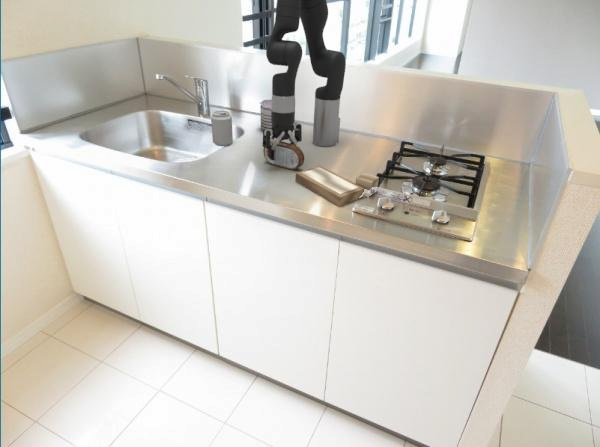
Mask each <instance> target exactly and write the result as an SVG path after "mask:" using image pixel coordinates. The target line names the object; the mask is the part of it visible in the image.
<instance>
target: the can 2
mask: <svg viewBox="0 0 600 447" xmlns="http://www.w3.org/2000/svg"><path fill="white" fill-rule="evenodd" d="M271 100H272V99H263V100H262V101H260V102H259V104H260V131H261V132H262V133H263V130H264V129H267V130H269V129H271V128H272V123H271ZM271 136H272V134H271Z"/></svg>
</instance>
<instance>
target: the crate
mask: <svg viewBox="0 0 600 447" xmlns="http://www.w3.org/2000/svg"><path fill="white" fill-rule="evenodd" d="M379 179H380V177H379V176H376V175H373V174H370V173H367V172H363V173H362V174H360V175H358V176H357V177H356V178H355V184H357V185H359V186H361V187H363V188H365V189H367V190H370V189H371V188H372V187H378V186H379V181H380V180H379ZM378 188H379V187H378Z"/></svg>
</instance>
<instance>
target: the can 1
mask: <svg viewBox="0 0 600 447" xmlns="http://www.w3.org/2000/svg"><path fill="white" fill-rule="evenodd" d="M210 123H211V135H212V143H213V144H215V146H218V147H227V146H229V145H232V143H233V142H234V139H233V138H234V137H233V135H234V134H233V118H232V115H231V113H230V111H228V110H222V109H221V110H220V109H219V110H215V111H213V112H212V115H211V116H210Z"/></svg>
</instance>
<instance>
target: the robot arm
mask: <svg viewBox="0 0 600 447" xmlns="http://www.w3.org/2000/svg"><path fill="white" fill-rule="evenodd" d="M328 8H329V6H328V3H327V0H276V9H275V18H274V19H275V20H274V25H273V27H272V32H271V35H270V38H269V41H268V43H267V46H266V50H265V52H266V54H265V55H266V60H267V61H268V62H269V63H270V65H274V66H283V67H287V69H286V72H285V71H284V72H278V73H275V74H273V76H272V80H271V81H272V82H271V86H272V87H271V89H272V90H271V99H270V100H271V123H272V128H271V129H269V130H267V129H264V130H263V132H262V148H264V147H265V148H266V149H268V158H269V159H271V160H275V150H274V148H275V146H276V145H277V144H278V143H279V141H282V142H284V141H285V140H286V141H287V140H288V141H289V143H290V144H293V145H296V146H297V144H298V143H300V142H302V133H303V132H302V131H303V130H302V127H303V126H302V124H301V123H299V122H296V120H295V119H296V80H297V75H298V72H299V68H300V64H301V60H302V58H303V48H302V46H301V44H300V43H299V41H295V40H284V39H283V38H284V36H285V35H286V34H289V33H295V32H298V30H299V28H300V21H301V24H302V27H303V32H304V36H305V39H306V42H307V49H308V55H309V61H310V64H311V68H312V70H313V73H314V74H315V75H316V76H318V77H320V78H325V79H327V80H326V82H325V85H324V86H319V87H317V88H316V89H315V92H314V109H313V110H314V111H313V112H314V113H313V130H312V144H314V145H316V146H319V147H332V146H335V145H336V144H337V143H339V141H340V128H341V118H340V117H339V116H340V107H341V105H340V104H341V95H342V91H343V87H344V83H345V82H344V81H345V74H346V73H345V72H346V65H347V64H346V62H347V61H346V60H347V59H346V56H345V54H344V53H343V52H341V51H339V50H332V49H327V47H326V44H325V40H324V30H325V27H326V24H327V21H328V17H329V9H328ZM271 134H272V135H271Z"/></svg>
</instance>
